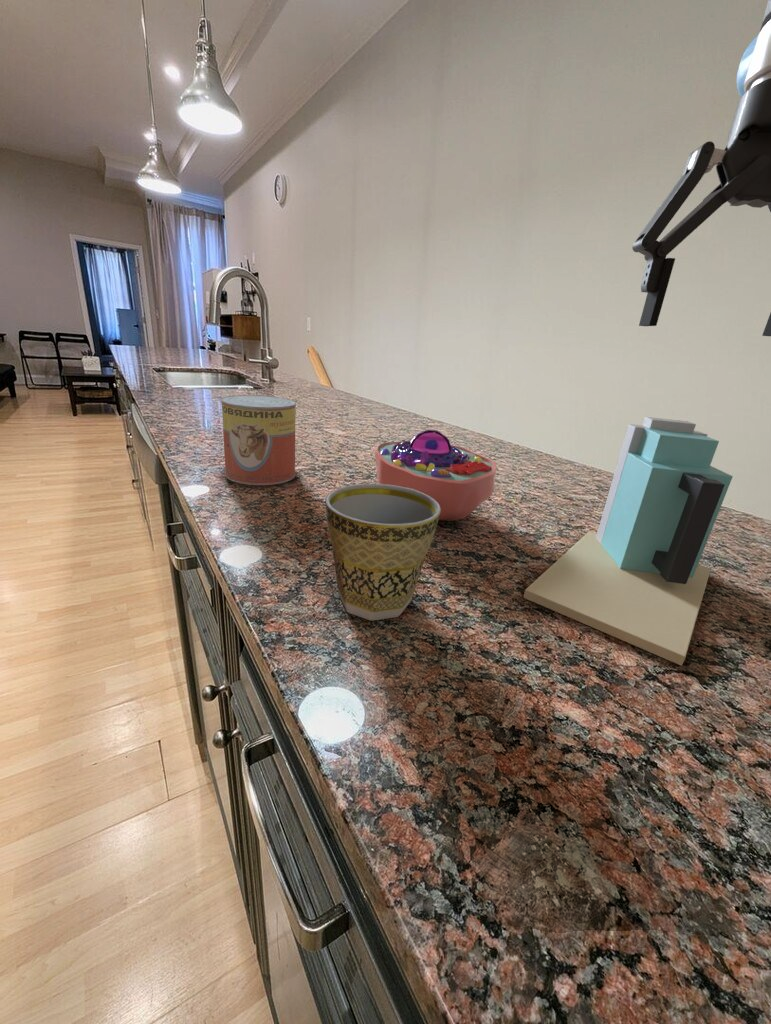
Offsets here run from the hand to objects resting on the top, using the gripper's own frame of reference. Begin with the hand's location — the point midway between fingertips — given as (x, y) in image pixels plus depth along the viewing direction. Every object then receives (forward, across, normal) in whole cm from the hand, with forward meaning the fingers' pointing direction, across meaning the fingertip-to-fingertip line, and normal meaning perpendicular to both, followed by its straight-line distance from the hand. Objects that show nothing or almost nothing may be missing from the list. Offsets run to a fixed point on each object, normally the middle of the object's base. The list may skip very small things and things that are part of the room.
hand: (709, 331), depth 50 cm
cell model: (+27, +29, -4) cm, 39 cm away
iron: (+18, +2, +1) cm, 18 cm away
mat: (+27, +7, +12) cm, 30 cm away
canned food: (+27, +56, -12) cm, 63 cm away
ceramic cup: (+27, +33, +20) cm, 47 cm away
